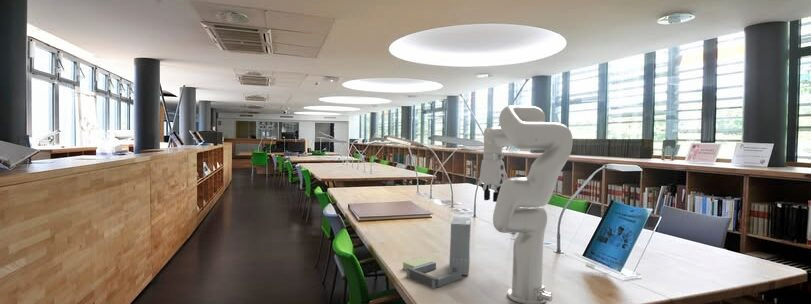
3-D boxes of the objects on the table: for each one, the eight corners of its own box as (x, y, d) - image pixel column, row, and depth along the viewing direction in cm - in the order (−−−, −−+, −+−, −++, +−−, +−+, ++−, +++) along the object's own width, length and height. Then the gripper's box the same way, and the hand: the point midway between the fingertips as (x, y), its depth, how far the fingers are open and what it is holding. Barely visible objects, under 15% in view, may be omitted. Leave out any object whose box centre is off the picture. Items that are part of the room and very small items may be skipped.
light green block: (432, 268, 156) (432, 261, 156) (414, 274, 149) (414, 266, 149) (420, 264, 161) (420, 257, 161) (402, 269, 154) (403, 262, 154)
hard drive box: (468, 276, 147) (470, 225, 146) (449, 274, 148) (450, 223, 147) (470, 263, 162) (471, 216, 161) (452, 261, 163) (453, 215, 163)
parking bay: (461, 278, 144) (461, 270, 144) (434, 288, 135) (435, 279, 134) (433, 267, 155) (433, 260, 155) (406, 276, 146) (406, 268, 146)
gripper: (514, 158, 155) (513, 202, 156) (481, 156, 168) (480, 197, 169) (504, 158, 150) (503, 204, 151) (471, 156, 163) (470, 199, 164)
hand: (491, 200), depth 160 cm, fingers open, 3 cm apart
